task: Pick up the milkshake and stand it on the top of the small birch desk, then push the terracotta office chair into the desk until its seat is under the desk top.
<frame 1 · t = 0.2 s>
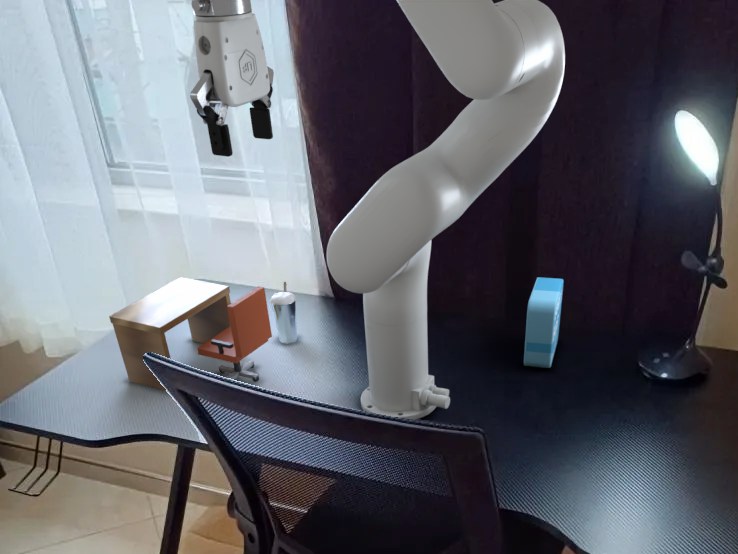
hand: (243, 146, 113), 37 cm above the table, tool pointing down, fingers open, 9 cm apart
desk: (186, 364, 141), on the table
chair: (233, 336, 131), point 8 cm above the table, slide at 0.0 cm
milkshake: (289, 340, 147), on the table
data package: (540, 355, 138), on the table
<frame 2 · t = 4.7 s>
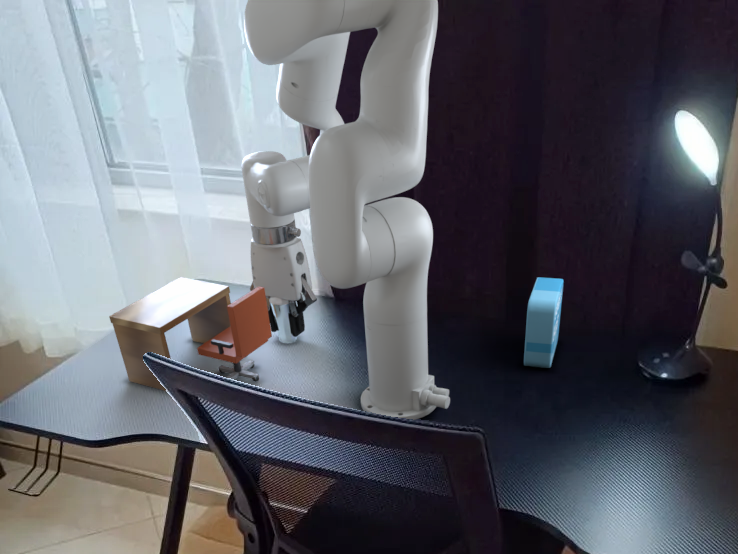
hand: (288, 330, 146), 2 cm above the table, tool pointing down, fingers closed on milkshake, 4 cm apart
milkshake: (289, 340, 147), on the table, touching gripper
everything else where it was.
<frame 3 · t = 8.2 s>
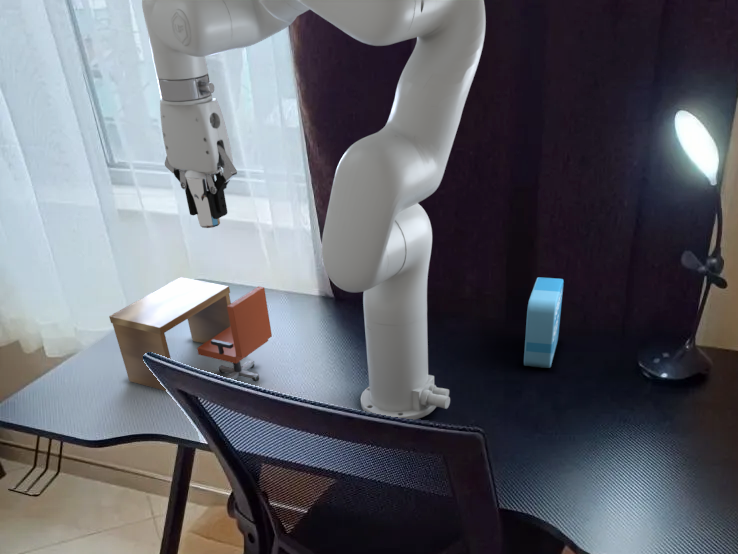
hand: (208, 213, 129), 24 cm above the table, tool pointing down, fingers closed on milkshake, 4 cm apart
milkshake: (211, 225, 130), point 22 cm above the table, touching gripper
everything else where it was.
when the fingers open (14 cm above the table, at t = 11.6 s): milkshake stays where it is, resting on desk.
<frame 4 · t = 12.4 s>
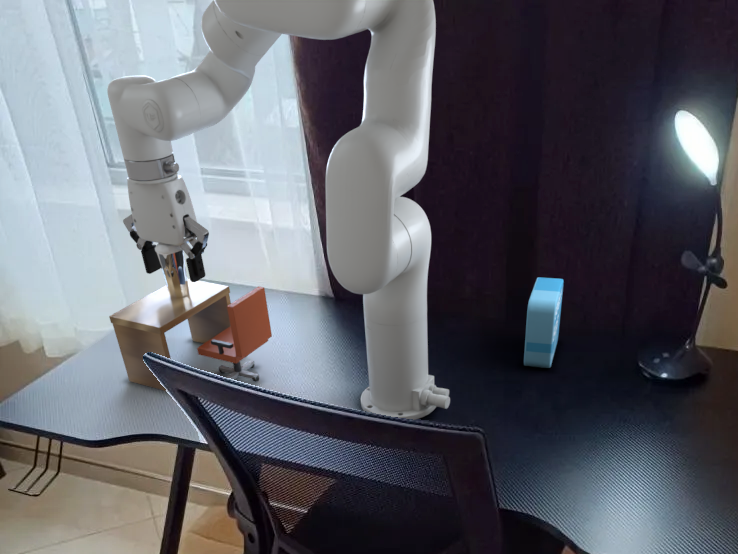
hand: (176, 275, 133), 15 cm above the table, tool pointing down, fingers open, 9 cm apart
milkshake: (180, 294, 135), point 12 cm above the table, touching desk
everything else where it was.
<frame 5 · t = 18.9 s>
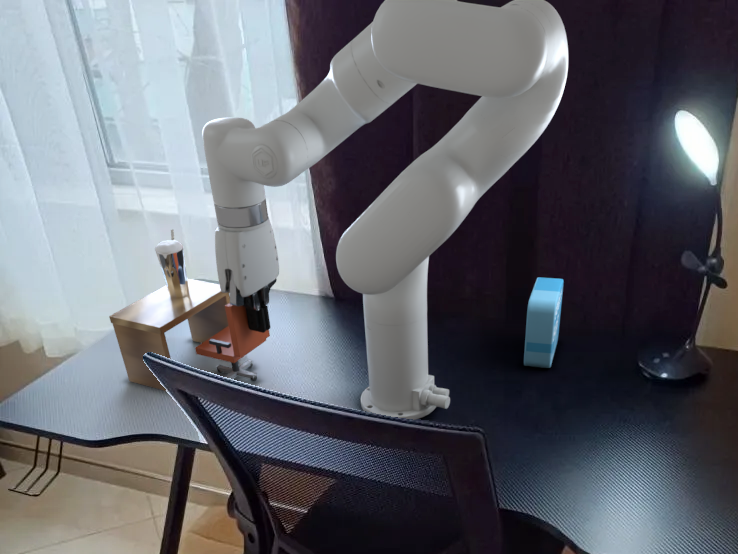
hand: (259, 329, 127), 10 cm above the table, tool pointing down, fingers closed
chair: (231, 336, 131), point 8 cm above the table, slide at 0.4 cm, touching gripper
everything else where it was.
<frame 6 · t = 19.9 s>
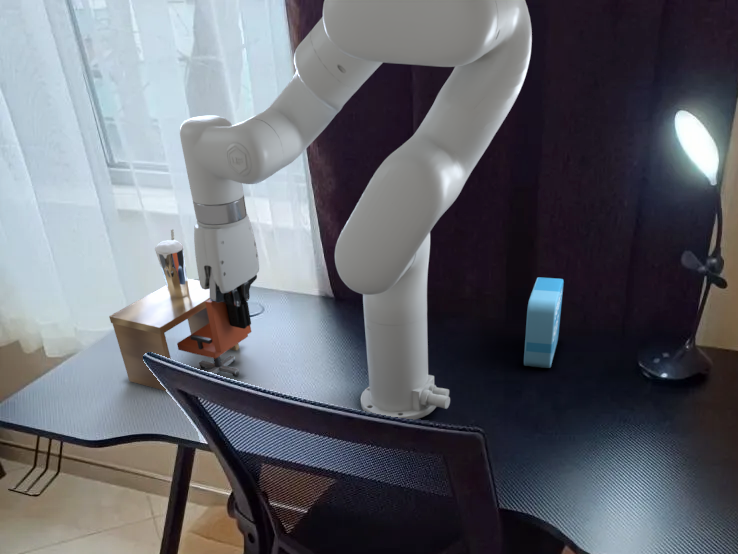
hand: (240, 325, 128), 10 cm above the table, tool pointing down, fingers closed
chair: (213, 332, 132), point 8 cm above the table, slide at 4.3 cm, touching gripper
everything else where it was.
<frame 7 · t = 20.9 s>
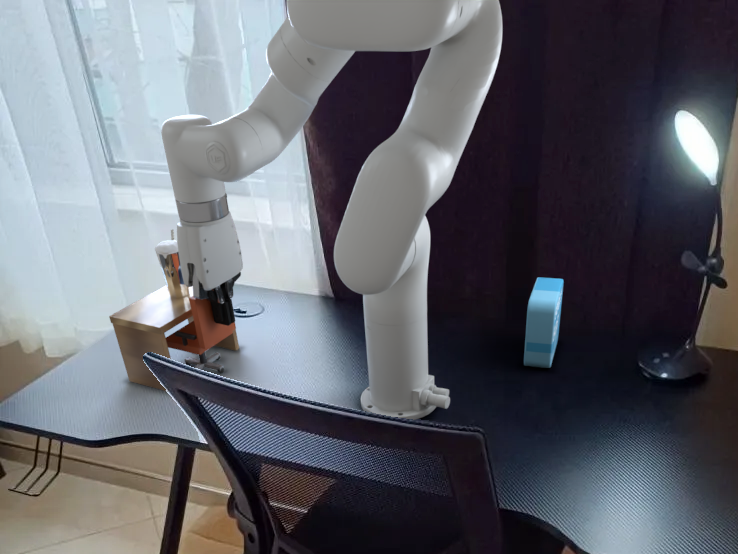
hand: (225, 322, 130), 10 cm above the table, tool pointing down, fingers closed
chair: (198, 328, 134), point 8 cm above the table, slide at 7.6 cm, touching gripper
everything else where it was.
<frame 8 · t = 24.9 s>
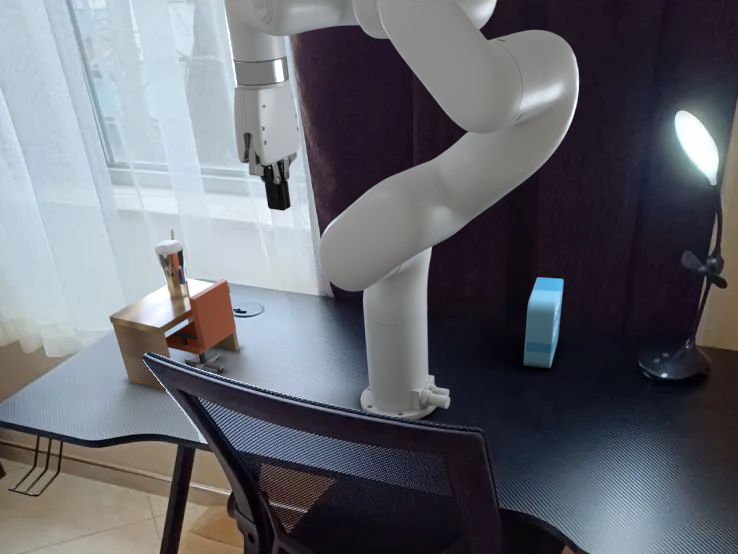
hand: (279, 207, 121), 27 cm above the table, tool pointing down, fingers closed
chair: (198, 328, 134), point 8 cm above the table, slide at 7.6 cm
everything else where it was.
at the end: milkshake inside the target area on the desk (3.1 cm from its centre), point 11.8 cm above the desk's base; milkshake tilted 0°; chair slide at 7.6 cm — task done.
